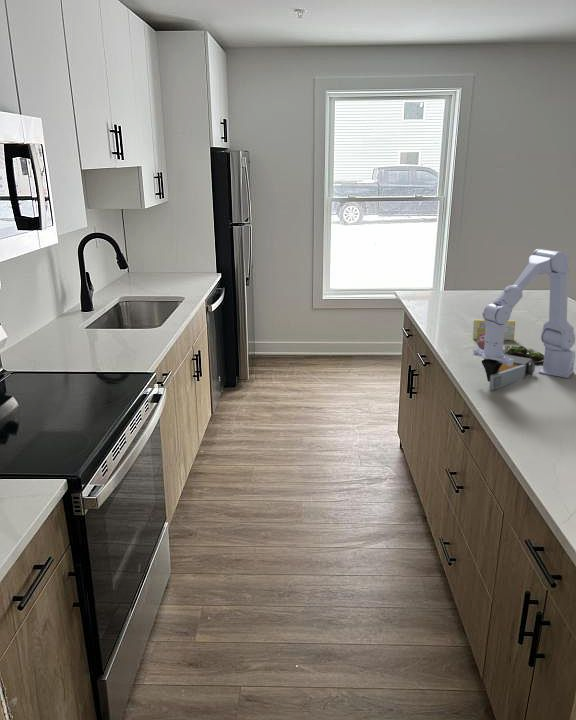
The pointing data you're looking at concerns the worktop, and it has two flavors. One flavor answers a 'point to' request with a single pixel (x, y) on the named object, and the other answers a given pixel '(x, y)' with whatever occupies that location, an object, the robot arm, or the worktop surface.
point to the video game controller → (481, 342)
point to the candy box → (481, 328)
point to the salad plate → (525, 353)
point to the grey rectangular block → (517, 362)
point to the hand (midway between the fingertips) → (490, 380)
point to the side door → (507, 377)
